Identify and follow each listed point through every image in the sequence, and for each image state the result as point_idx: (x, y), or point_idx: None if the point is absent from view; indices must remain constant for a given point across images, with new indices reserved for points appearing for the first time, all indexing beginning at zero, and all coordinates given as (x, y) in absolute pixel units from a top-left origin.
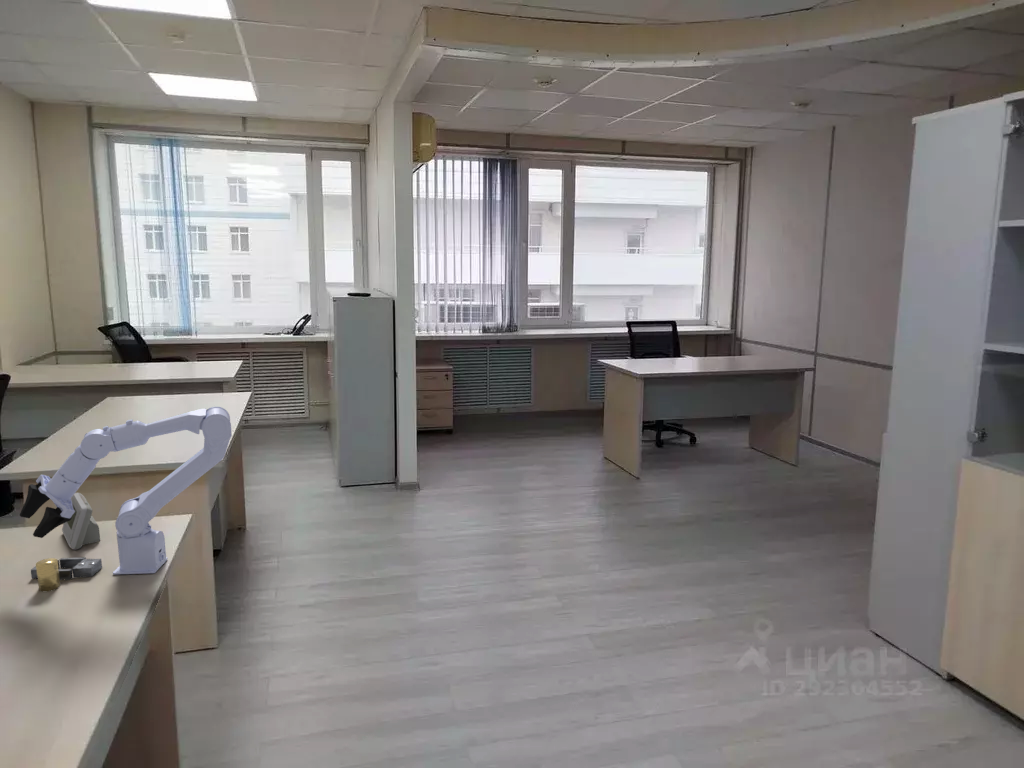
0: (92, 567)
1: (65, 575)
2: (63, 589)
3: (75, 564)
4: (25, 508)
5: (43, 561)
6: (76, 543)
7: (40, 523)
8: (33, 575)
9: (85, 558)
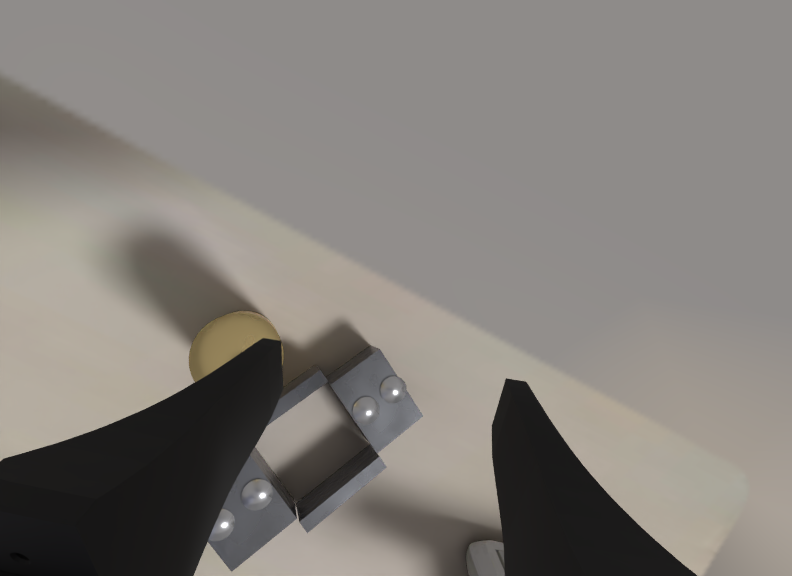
0: None
1: None
2: (174, 363)
3: (327, 486)
4: (521, 425)
5: None
6: (474, 565)
7: (211, 392)
8: (367, 350)
9: (305, 528)
